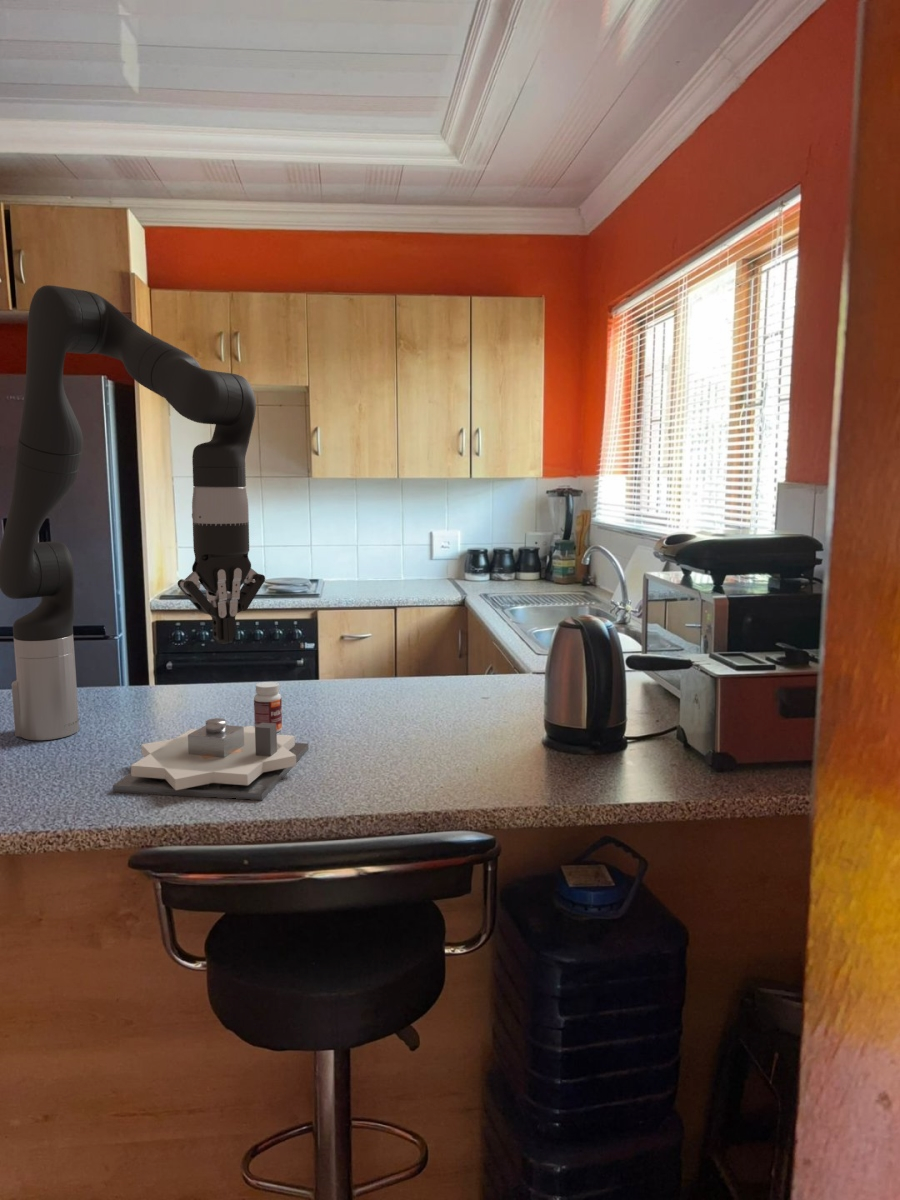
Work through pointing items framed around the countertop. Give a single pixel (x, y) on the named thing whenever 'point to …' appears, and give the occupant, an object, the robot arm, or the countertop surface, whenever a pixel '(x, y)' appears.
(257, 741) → the turntable
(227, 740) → the cover
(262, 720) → the pill bottle
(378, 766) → the countertop surface
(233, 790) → the base
